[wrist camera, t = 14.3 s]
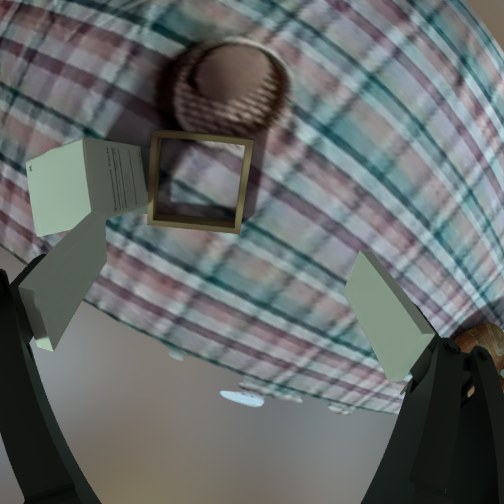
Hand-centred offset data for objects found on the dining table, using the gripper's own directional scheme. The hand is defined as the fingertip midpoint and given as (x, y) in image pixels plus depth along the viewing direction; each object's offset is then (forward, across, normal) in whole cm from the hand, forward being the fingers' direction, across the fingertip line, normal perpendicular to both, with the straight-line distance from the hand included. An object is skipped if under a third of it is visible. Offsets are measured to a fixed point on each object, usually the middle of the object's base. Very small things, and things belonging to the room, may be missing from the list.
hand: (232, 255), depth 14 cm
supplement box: (+28, -16, -5) cm, 32 cm away
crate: (+29, -4, -4) cm, 30 cm away
